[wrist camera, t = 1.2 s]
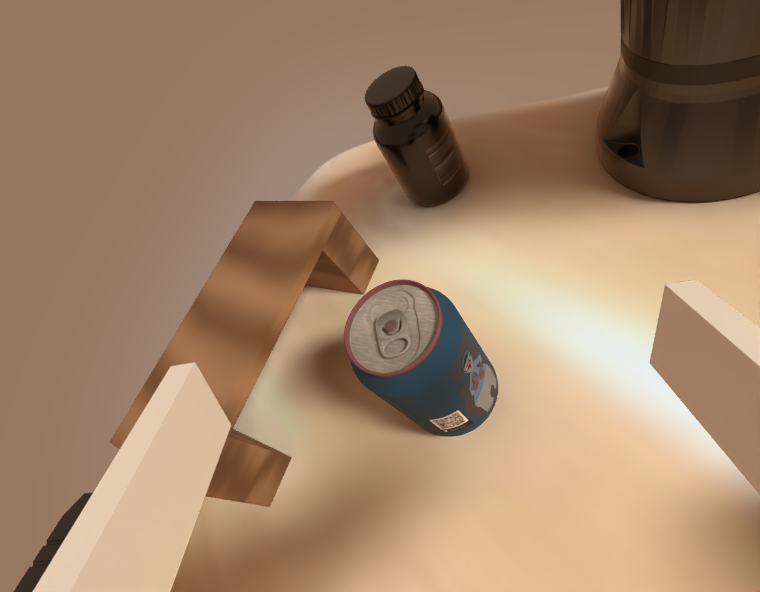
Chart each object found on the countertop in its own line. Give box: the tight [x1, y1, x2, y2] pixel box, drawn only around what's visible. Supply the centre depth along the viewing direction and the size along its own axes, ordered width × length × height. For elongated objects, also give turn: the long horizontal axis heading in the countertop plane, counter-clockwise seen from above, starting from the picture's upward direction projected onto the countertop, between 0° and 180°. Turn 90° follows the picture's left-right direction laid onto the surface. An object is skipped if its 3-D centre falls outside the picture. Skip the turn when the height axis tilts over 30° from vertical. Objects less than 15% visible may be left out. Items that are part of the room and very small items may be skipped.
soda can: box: [344, 280, 498, 436], centre depth 27 cm, size 7×7×12 cm
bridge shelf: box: [110, 201, 379, 507], centre depth 37 cm, size 24×10×9 cm, turn 156°
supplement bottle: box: [365, 66, 468, 206], centre depth 39 cm, size 7×7×12 cm
